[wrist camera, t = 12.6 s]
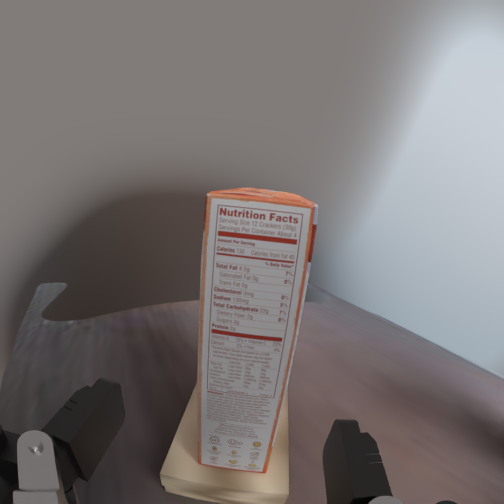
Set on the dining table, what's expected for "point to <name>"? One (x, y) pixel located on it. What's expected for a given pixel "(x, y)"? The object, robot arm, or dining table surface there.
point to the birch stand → (224, 480)
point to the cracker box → (249, 320)
